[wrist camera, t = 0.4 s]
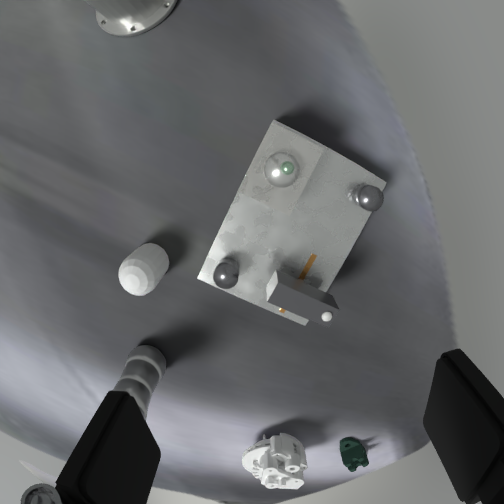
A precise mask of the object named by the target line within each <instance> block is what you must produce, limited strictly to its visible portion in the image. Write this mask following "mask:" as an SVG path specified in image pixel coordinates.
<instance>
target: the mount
mask: <svg viewBox="0 0 504 504" xmlns="http://www.w3.org/2000/svg"><path fill="white" fill-rule="evenodd" d="M340 452H341V456H342V461H343V464H344V465H345V466H346V467H348V469H349V470H350V472H354V471H356V468H357V467H358V466H360V465H362V466H363V467H365V466H367V465H368V464H369V461H368V458H367V455H366V451H365V449H364V447H363V446H362V444H361V443H360V442H359V441H358V440H355V439H353V438H350V437H346V438H343V439H342V440H341V441H340Z"/></svg>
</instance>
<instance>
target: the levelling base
mask: <svg viewBox="0 0 504 504" xmlns="http://www.w3.org/2000/svg"><path fill="white" fill-rule="evenodd" d="M386 183H387V182H385V181H384V180H382V179H380V178H379V177H377V176H376V175H374V174H372V173H371V172H369V171H368V170H366V169H364V168H363V167H361V166H359V165H358V164H356V163H354V162H353V161H351V160H349V159H347V158H346V157H344V156H342V155H340V154H339V153H337V152H335V151H333V150H332V149H330V148H328V147H326V146H324V145H322V144H321V143H319V142H317V141H315V140H313V139H311V138H309V137H308V136H306V135H304V134H302V133H300V132H298V131H296V130H294V129H292V128H290V127H288V126H286V125H284V124H282V123H280V122H278V121H276V120H273V122H272V123H271V125H270V127H269V129H268V131H267V133H266V135H265V137H264V139H263V141H262V143H261V145H260V147H259V149H258V151H257V153H256V155H255V157H254V159H253V161H252V163H251V165H250V167H249V169H248V171H247V173H246V175H245V177H244V179H243V181H242V183H241V185H240V188H239V190H238V192H237V194H236V196H235V198H234V201H233V203H232V205H231V207H230V209H229V211H228V213H227V215H226V217H225V219H224V222H223V224H222V226H221V228H220V230H219V232H218V234H217V236H216V239H215V241H214V243H213V245H212V247H211V249H210V252H209V254H208V256H207V258H206V260H205V263H204V265H203V267H202V269H201V271H200V274H199V276H198V278H197V279H200V280H202V281H204V282H206V283H208V284H211V285H213V286H215V287H217V288H219V289H222V290H224V291H226V292H228V293H230V294H233V295H235V296H237V297H239V298H242V299H244V300H246V301H248V302H251V303H253V304H255V305H258V306H260V307H262V308H265V309H267V310H269V311H271V312H274V313H276V314H279V315H281V316H283V317H286V318H288V319H290V320H293V321H295V322H297V323H300V324H302V325H306V324H307V322H308V321H309V320H308V319H306V318H303V317H301V316H298V315H296V314H294V313H291V312H289V311H287V310H284V309H282V308H280V307H277V306H275V305H273V304H271V303H268V302H267V293H266V287H267V285H268V283H269V281H270V279H271V278H272V276H273V274H274V272H275V270H278V271H281V272H283V273H285V274H287V275H289V276H291V277H294V278H296V279H302V280H304V281H305V283H307V284H309V285H311V286H313V287H315V288H317V289H320V290H322V291H324V292H327V290H328V288H329V287H330V285H331V283H332V282H333V280H334V278H335V276H336V275H337V273H338V271H339V270H340V268H341V266H342V265H343V263H344V261H345V259H346V258H347V256H348V254H349V252H350V251H351V249H352V247H353V245H354V243H355V242H356V240H357V238H358V236H359V234H360V233H361V231H362V229H363V227H364V225H365V223H366V222H367V220H368V218H369V216H370V214H371V212H373V211H376V210H378V209H379V208H380V207H381V206H382V204H383V199H384V198H383V193H382V191H383V189H384V187H385V185H386Z"/></svg>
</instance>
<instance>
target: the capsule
mask: <svg viewBox="0 0 504 504" xmlns="http://www.w3.org/2000/svg"><path fill="white" fill-rule="evenodd" d="M168 267H169V259H168V255H167V254H166V252H165V250H164V249H163V248H161V247H160V246H159V245H156V244H153V243H147V244H143V245H142V246H140V247H139V248H137V249H136V250H135V251H134V252H133V253H131V254H130V255H129V256H128V257H127V258H126V259H125V260H124V261H123V263H122V264H121V266H120V268H119V275H118V276H119V280H120V283H121V285H122V286H123V288H124V289H125V290H126V291H128V292H129V293H130V294H133V295H137V296H140V295H145V294H147V293H149V292H151V291H152V290H153V289H154V288H155V287H156V285H157V284H158V282H159V281H160V280H161V278H162V277H163V276H164V274H165V273H166V271H167V270H168Z"/></svg>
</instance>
